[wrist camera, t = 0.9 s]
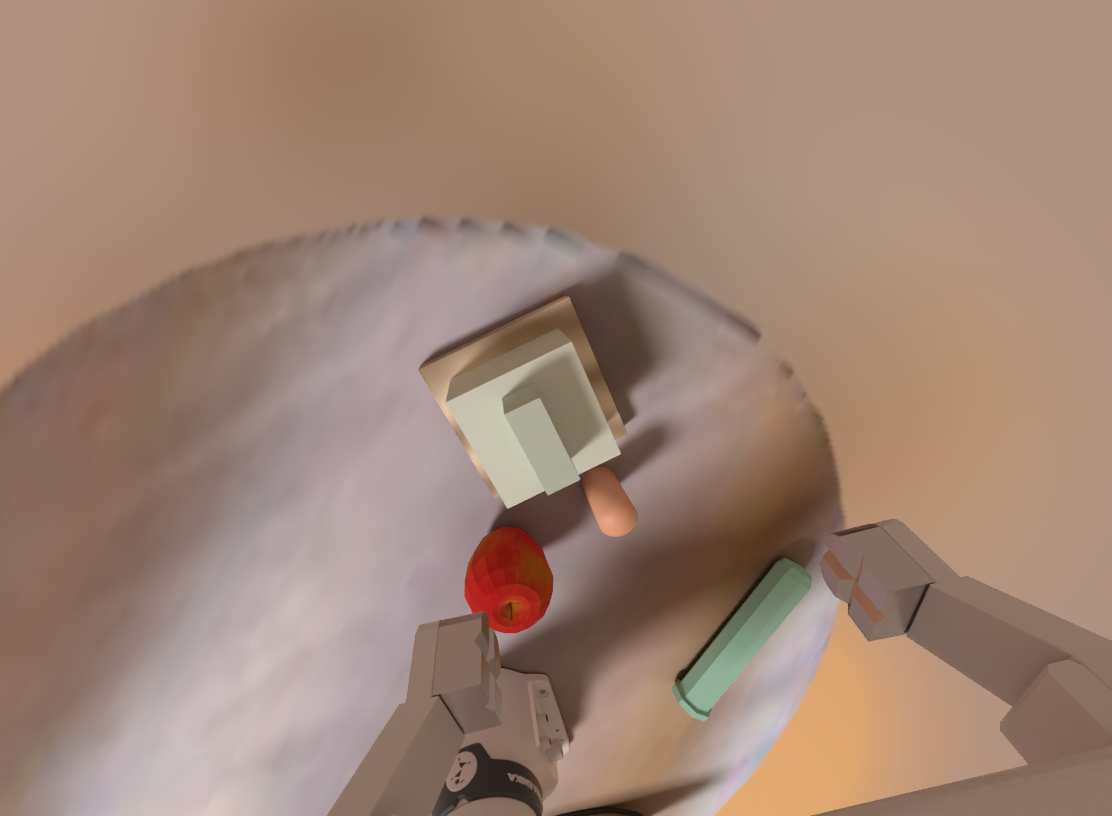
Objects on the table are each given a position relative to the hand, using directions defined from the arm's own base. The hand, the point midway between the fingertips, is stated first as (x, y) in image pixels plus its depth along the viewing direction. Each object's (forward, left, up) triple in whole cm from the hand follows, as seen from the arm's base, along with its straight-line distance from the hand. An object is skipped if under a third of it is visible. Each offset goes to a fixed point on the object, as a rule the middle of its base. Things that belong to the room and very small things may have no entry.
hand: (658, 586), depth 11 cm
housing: (-7, +3, -35) cm, 36 cm away
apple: (-22, +13, -38) cm, 45 cm away
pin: (-20, 0, -37) cm, 42 cm away
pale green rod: (-50, -9, -38) cm, 64 cm away
